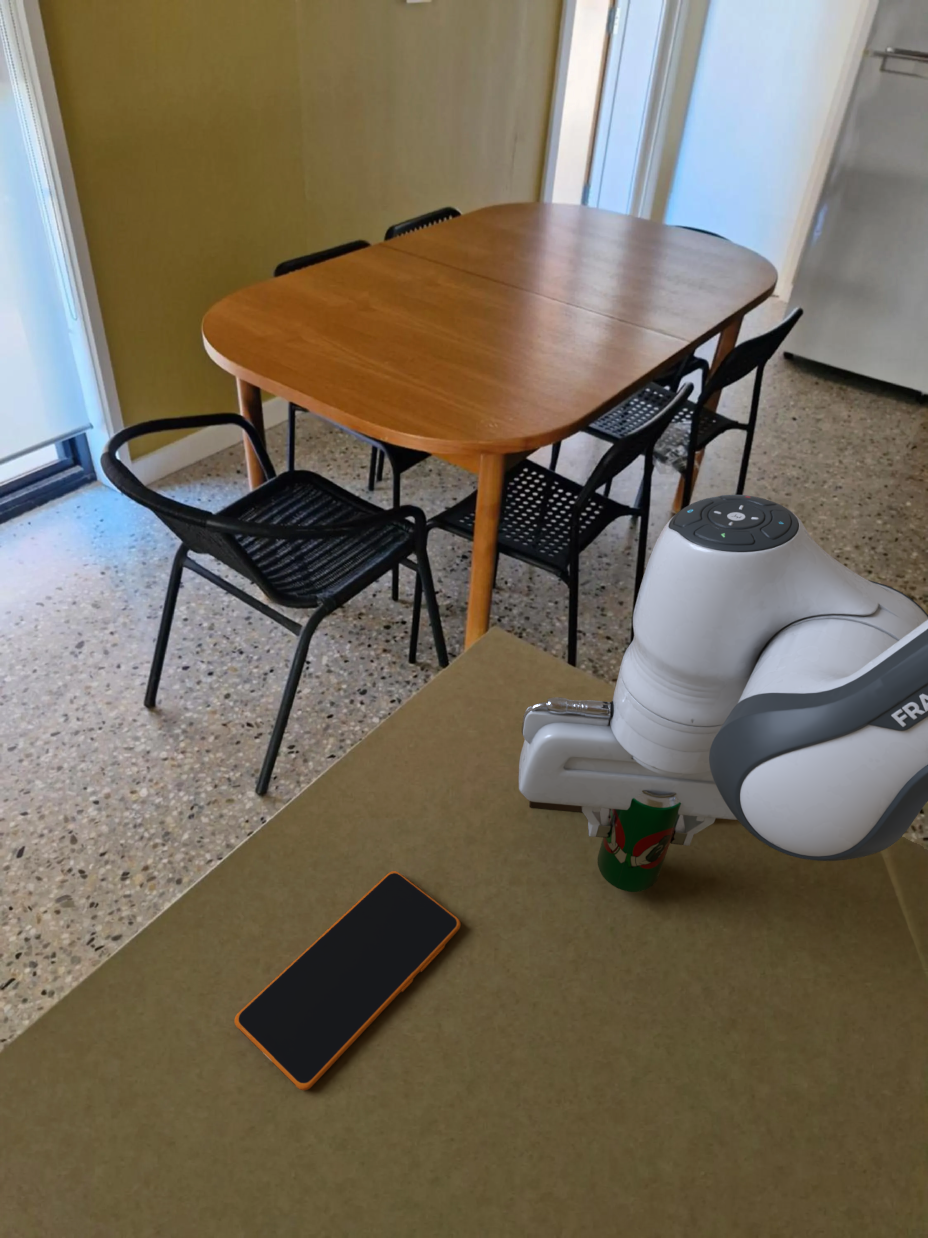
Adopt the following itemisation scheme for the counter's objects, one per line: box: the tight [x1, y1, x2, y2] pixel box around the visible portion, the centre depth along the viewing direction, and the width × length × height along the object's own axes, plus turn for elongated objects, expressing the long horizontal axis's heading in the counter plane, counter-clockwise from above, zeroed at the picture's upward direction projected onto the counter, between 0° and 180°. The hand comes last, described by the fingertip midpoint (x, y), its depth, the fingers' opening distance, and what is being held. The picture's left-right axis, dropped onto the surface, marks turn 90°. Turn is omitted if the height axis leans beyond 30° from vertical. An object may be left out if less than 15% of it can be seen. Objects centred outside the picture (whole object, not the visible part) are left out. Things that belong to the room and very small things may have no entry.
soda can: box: [597, 790, 681, 893], centre depth 69 cm, size 5×5×12 cm
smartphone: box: [234, 870, 462, 1091], centre depth 65 cm, size 8×17×1 cm, turn 140°
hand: (638, 834), depth 70 cm, fingers closed on soda can, 5 cm apart
